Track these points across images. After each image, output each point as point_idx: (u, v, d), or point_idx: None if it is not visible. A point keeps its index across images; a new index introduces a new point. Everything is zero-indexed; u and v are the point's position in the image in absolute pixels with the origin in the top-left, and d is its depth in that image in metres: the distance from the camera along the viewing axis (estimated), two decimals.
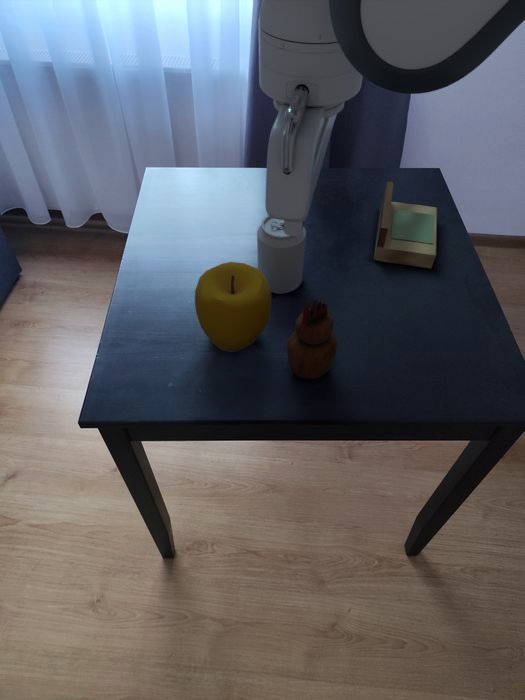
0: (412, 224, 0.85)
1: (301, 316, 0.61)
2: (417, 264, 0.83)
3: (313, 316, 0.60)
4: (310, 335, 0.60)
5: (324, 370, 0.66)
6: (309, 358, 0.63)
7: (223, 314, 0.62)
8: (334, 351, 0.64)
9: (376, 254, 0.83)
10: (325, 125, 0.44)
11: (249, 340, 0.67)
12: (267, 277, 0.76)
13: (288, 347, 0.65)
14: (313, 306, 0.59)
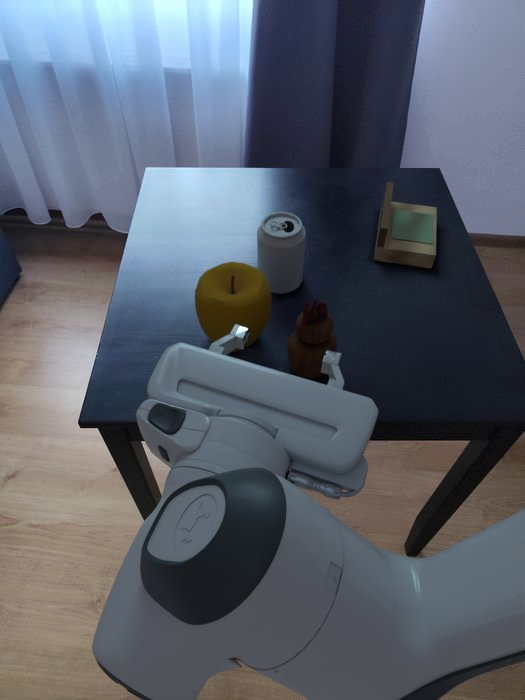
0: (412, 224, 0.85)
1: (301, 316, 0.61)
2: (417, 264, 0.83)
3: (313, 316, 0.60)
4: (310, 335, 0.61)
5: None
6: (309, 358, 0.63)
7: (223, 314, 0.62)
8: None
9: (376, 254, 0.83)
10: (254, 401, 0.41)
11: (249, 340, 0.67)
12: (267, 277, 0.76)
13: (288, 347, 0.65)
14: (313, 306, 0.59)
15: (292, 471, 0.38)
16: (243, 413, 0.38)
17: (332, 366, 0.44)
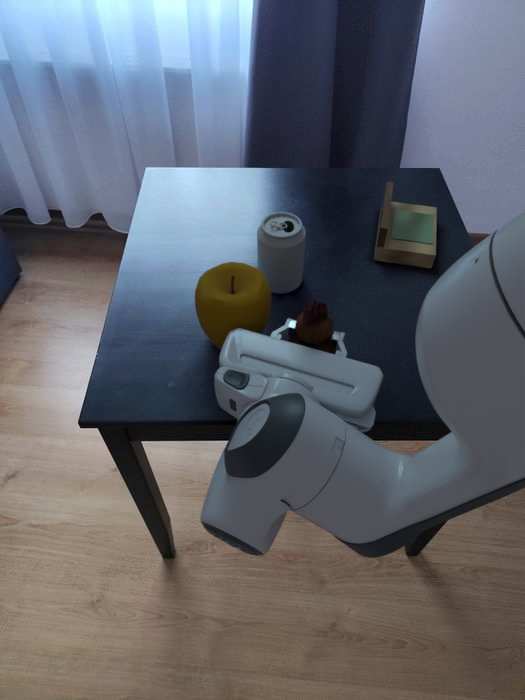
0: (412, 224, 0.85)
1: (301, 316, 0.61)
2: (417, 264, 0.83)
3: (313, 316, 0.60)
4: (310, 335, 0.61)
5: None
6: None
7: (223, 314, 0.62)
8: (334, 351, 0.64)
9: (376, 254, 0.83)
10: (295, 369, 0.58)
11: None
12: (267, 277, 0.76)
13: None
14: (313, 306, 0.59)
15: None
16: (289, 376, 0.55)
17: (338, 342, 0.61)
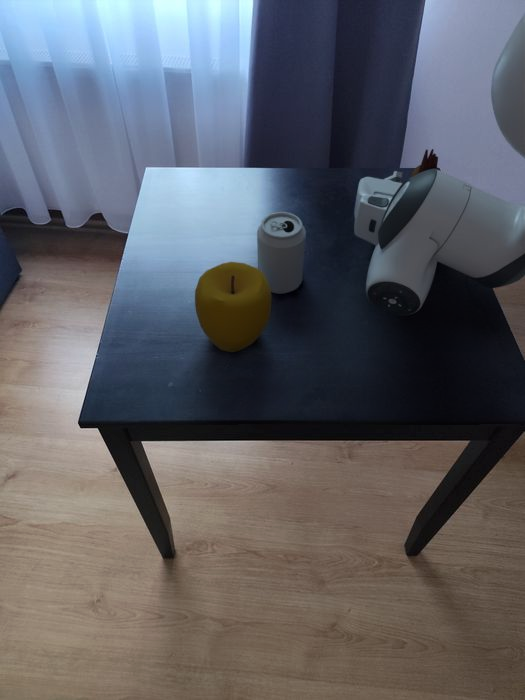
0: None
1: (416, 169, 0.77)
2: None
3: (428, 166, 0.75)
4: None
5: None
6: None
7: (223, 314, 0.62)
8: None
9: None
10: None
11: (249, 340, 0.67)
12: (267, 277, 0.76)
13: None
14: (429, 156, 0.74)
15: None
16: None
17: None
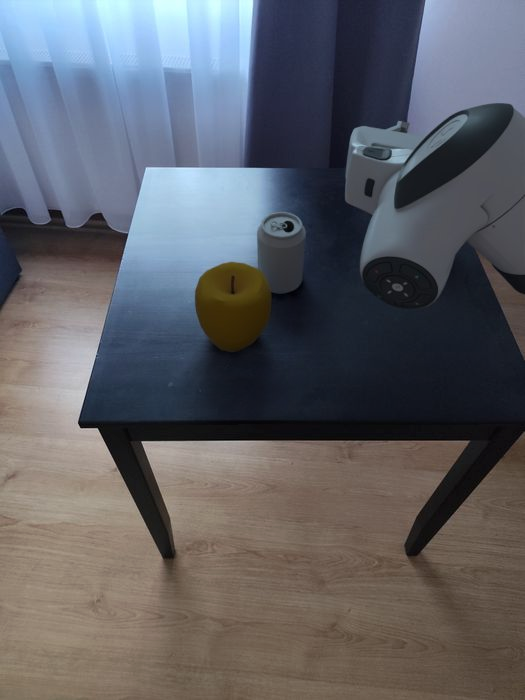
0: None
1: None
2: None
3: None
4: None
5: None
6: None
7: (223, 314, 0.62)
8: None
9: None
10: None
11: (249, 340, 0.67)
12: (267, 277, 0.76)
13: None
14: None
15: None
16: None
17: None
